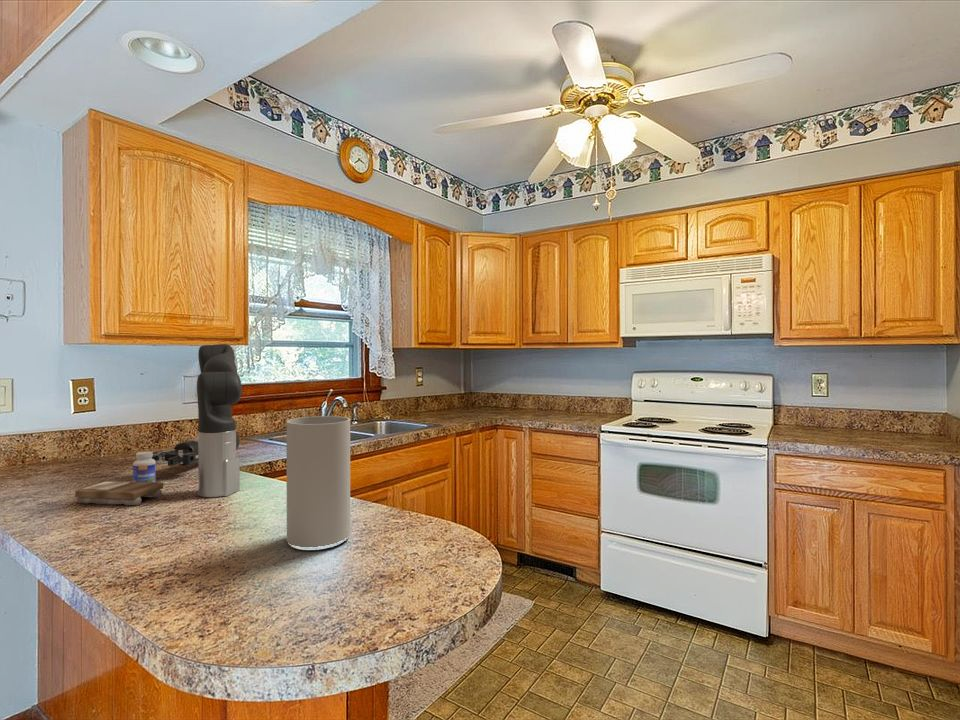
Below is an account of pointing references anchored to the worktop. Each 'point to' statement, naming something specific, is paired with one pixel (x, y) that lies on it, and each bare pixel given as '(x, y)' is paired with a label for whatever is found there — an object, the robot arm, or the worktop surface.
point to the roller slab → (119, 492)
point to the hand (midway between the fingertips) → (155, 462)
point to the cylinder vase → (318, 480)
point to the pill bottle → (144, 467)
